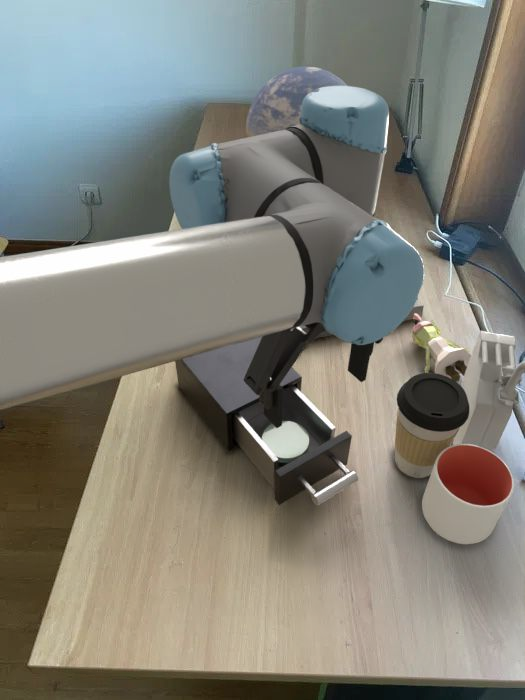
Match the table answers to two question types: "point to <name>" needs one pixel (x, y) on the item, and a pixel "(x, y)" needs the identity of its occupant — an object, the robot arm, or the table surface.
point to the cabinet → (223, 385)
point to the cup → (466, 493)
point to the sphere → (285, 99)
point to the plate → (286, 441)
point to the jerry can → (490, 390)
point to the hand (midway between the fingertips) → (316, 396)
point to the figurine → (440, 350)
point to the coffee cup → (427, 421)
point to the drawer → (311, 466)
